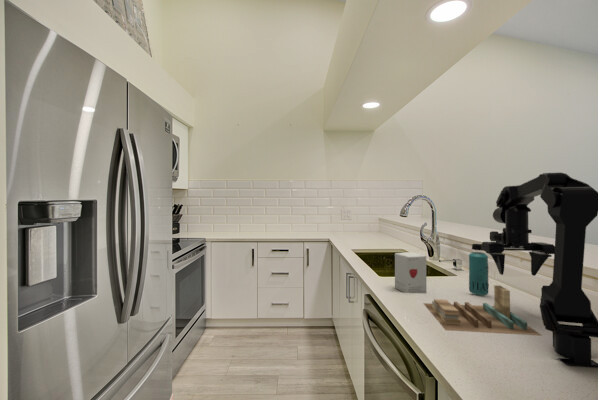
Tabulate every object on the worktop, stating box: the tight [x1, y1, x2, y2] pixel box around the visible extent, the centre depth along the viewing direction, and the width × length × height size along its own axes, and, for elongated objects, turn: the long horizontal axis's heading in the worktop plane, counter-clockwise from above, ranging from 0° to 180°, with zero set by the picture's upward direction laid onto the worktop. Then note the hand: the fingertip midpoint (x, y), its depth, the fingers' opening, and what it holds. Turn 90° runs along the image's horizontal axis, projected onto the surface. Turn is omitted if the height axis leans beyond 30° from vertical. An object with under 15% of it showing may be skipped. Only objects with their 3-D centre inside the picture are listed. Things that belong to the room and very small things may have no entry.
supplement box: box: [394, 251, 427, 294], centre depth 112 cm, size 9×9×15 cm
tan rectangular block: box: [493, 284, 511, 319], centre depth 83 cm, size 5×2×9 cm, turn 172°
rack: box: [423, 301, 543, 336], centre depth 84 cm, size 20×24×3 cm
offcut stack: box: [431, 298, 461, 325], centre depth 85 cm, size 12×4×4 cm, turn 172°
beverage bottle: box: [468, 243, 490, 296], centre depth 105 cm, size 6×7×20 cm
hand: (517, 274), depth 86 cm, fingers open, 9 cm apart
